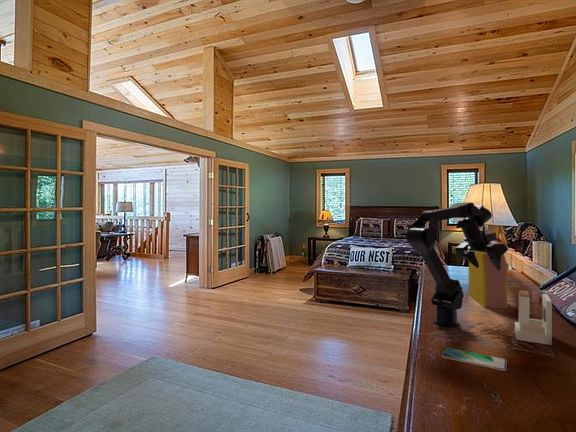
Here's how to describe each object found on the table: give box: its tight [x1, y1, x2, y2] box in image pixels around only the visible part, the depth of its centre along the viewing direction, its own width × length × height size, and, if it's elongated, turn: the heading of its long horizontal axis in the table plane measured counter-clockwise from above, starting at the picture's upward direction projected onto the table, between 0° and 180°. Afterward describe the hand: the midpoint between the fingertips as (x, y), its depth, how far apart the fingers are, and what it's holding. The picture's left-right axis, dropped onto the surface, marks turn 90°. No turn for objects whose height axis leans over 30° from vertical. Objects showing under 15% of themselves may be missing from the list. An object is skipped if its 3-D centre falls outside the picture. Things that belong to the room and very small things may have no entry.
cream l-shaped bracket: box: [514, 293, 553, 346], centre depth 110 cm, size 9×11×13 cm
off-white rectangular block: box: [518, 289, 531, 330], centre depth 111 cm, size 2×7×11 cm, turn 149°
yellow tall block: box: [468, 242, 508, 309], centre depth 153 cm, size 21×9×26 cm, turn 168°
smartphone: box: [441, 347, 508, 372], centre depth 93 cm, size 7×1×15 cm
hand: (488, 268), depth 131 cm, fingers open, 9 cm apart
